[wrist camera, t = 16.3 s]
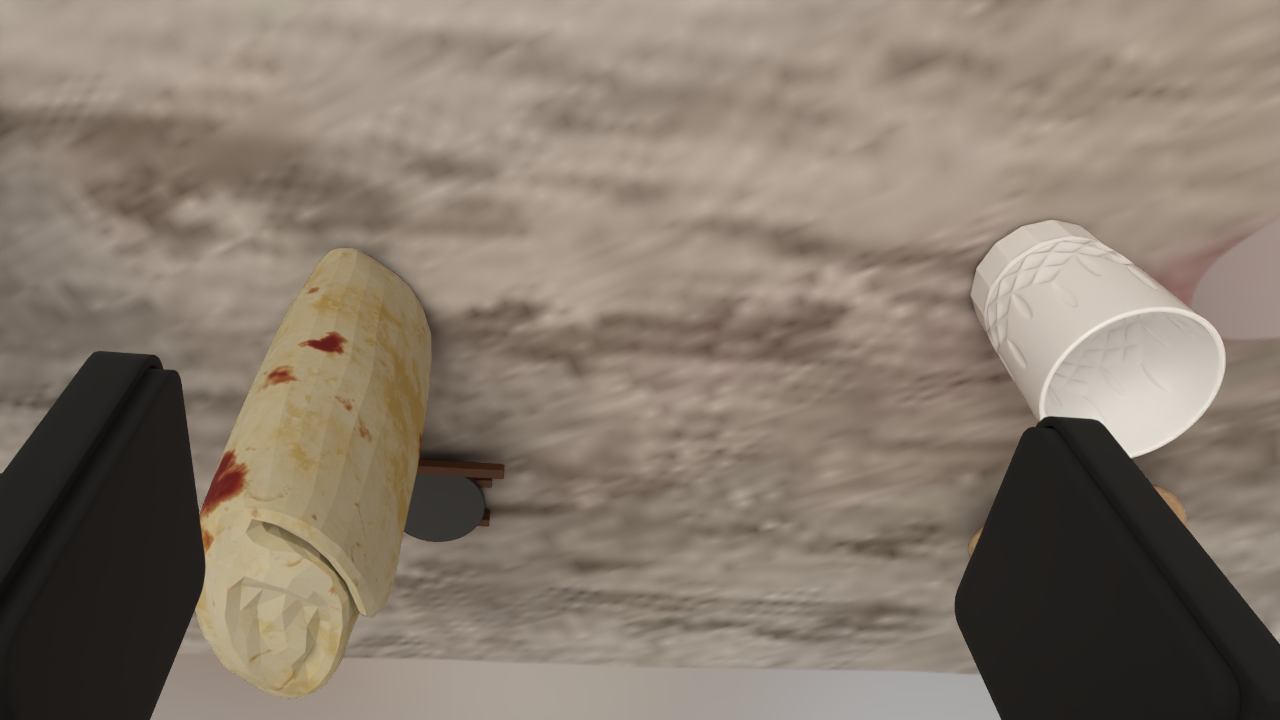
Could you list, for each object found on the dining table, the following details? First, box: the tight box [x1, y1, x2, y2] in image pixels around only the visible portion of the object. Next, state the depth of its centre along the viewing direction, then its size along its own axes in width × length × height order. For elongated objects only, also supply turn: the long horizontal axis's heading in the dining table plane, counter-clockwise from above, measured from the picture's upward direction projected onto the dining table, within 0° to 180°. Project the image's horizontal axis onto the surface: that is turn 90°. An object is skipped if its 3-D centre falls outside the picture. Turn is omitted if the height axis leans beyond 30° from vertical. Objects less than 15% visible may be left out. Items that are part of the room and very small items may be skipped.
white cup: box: [970, 220, 1226, 458], centre depth 46 cm, size 8×8×10 cm
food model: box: [195, 248, 432, 699], centre depth 40 cm, size 10×7×20 cm
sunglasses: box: [404, 459, 504, 542], centre depth 53 cm, size 14×5×1 cm, turn 82°
